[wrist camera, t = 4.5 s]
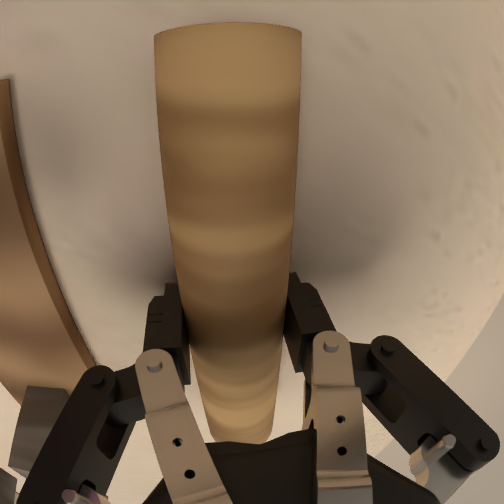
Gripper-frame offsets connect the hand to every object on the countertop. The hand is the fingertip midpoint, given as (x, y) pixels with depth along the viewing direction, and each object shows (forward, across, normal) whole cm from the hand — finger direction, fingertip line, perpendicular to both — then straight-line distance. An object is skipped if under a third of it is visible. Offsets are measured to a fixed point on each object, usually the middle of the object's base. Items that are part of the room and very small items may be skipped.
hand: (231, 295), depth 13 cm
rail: (+1, 0, 0) cm, 1 cm away
